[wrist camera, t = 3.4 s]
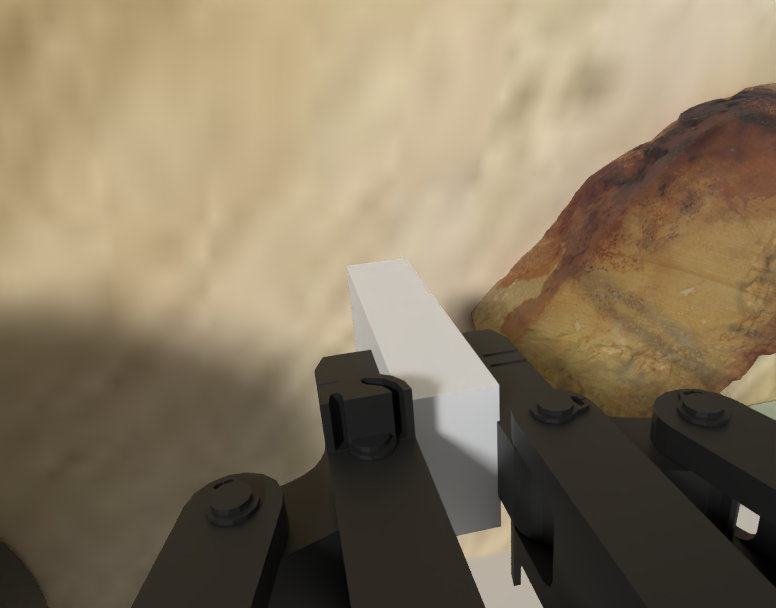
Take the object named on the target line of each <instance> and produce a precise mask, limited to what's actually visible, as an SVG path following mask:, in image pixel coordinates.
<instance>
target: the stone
mask: <svg viewBox="0 0 776 608" xmlns="http://www.w3.org/2000/svg"><path fill="white" fill-rule="evenodd" d="M471 315H472V321H473V324H474V327H475V330H476V331H478V330H484V329H490V330H493V331H495V332H497V333H499V334H501V335H503V336H505V337H507V338H508V339H509V340H510V341H511V342H512V343H513V344H514V345H515V346H516V348H517V349H518V352H521V353H522V354H523V355H524V356H525V358H526V359H527V362H528V361H529V362H530V363H531V364H532V365H533V366H534V368H535V369H536V370H537V371H538V372H539V373H540V374H541V375H542V376H543V377H544V379H545V380H546V381H547V382H548V383H549V384H550V385H551V386H552V387H553V388H554V389H561V390H569V391H572V392H575V393H577V394H580V395H583V396H585V397H586V398H588V399H589V400H591V401H592V402H593V403H595V404H596V405H597V406H598V407H599V408H600V409H601V410H602V411H603V412H604V413H605V414H606V415H607V416H610V417H637V418H652V412H653V406H654V403H655V400H656V398H657V397H659V396H660V395H662V394H664V393H665V392H669V391H674V390H678V389H702V390H704V391H709V392H714V393H718V394H719V393H720V392H721V391H722V390H723V389H724V388H726V387H727V386H729V384H730V383H731V382H732V381H735V380H740V379H741V378H742V376H743V375H745V374H746V373H747V371H748V370H749V369H750V368H751V366H752V365H753V364H754V362H755V361H756V359H757V358H758V356H760V355H772V354H774V353H776V83H774V84H766V85H759V86H754V87H749V88H745V89H744V90H742V91H741V92H739V93H737V94H735V95H734V96H732V97H729V98H725V99H717V100H712V101H709V102H705V103H702V104H699V105H697V106H694V107H692V108H689V109H688V110H686V111H685V112H683V113H681V114H680V116H679V118H678V120H677V121H675V122H673V123H671V124H670V125H669V126H667V127H666V128H665V129H664V130H663V131H662V132H660V133H659V134H658V135H657V136H656V137H655V138H654V139H653V140H652V141H650V142H647V143H644V144H641V145H639V146H638V147H636V148H634V149H632V150H630V151H628V152H627V153H625V154H624V155H622V156H620V157H619V158H617V159H616V160H614V161H612V162H611V163H609V164H608V165H606V166H605V167H603V168H602V169H601V170H599V171H598V172H596V173H595V174H593V175H592V176H590V177H589V178H588V179H587V180H586V181H585V183H584V184H583V185H582V186H581V188H580V189H579V190H578V191H577V192H576V193H575V195H574V197H573V198H572V200H571V201H570V203H569V205H568V206H567V207H566V208H565V209H564V210H563V211H562V212H561V214H560V215H559V217H558V219H557V221H556V222H555V223H554V224H553V225H552V226H551V228H550V229H548V230H547V231H546V233H545V235H544V236H543V238H542V239H541V240H540V241H539V242H538V243H537V244H536V245H535V246H534V247H533V248H532V249H531V250H530V251H529V252H527V253H526V254H525V255H524V256H523V257H522V258H521V259H520V260H519V261H518V262H517V263H516V264H515V266H514V267H513V268H512V269H511V270H510V272H509V273H508V275H507V276H506V277H504V278H503V279H501V280H500V281H498V282H497V283H496V284H495V285H494V286H493V287H492V288H491V290H490V291H489V292H488V293H487V294H486V296H485V297H484V298H483V299H482V300H481V302H480V303H479V304H478V305H477V307H476V308H475V309H474V310H473V312H472V313H471Z"/></svg>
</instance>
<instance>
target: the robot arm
mask: <svg viewBox="0 0 776 608" xmlns="http://www.w3.org/2000/svg"><path fill="white" fill-rule="evenodd" d="M347 274H348V283H349V292H350V300H351V309H352V317H353V326H354V334H355V343H356V351H357V352H353V353H346V354H340V355H334V356H328V357H323V358H322V359H321V361H320V363H319V364H318V366H317V368H316V369H315V378H316V384H317V391H318V398H319V404H320V411H321V418H322V424H323V431H324V438H325V452H324V454H323V456H322V459H321V460H320V461H319V462H318V464H317V465H316V466H315V467H314V468H313V469H311V470H310V471H309V472H308V473H306V474H305V475H303V476H301V477H300V478H298V479H296V480H294V481H292V482H290V483H287V484H285V485H283V486H279V484H278V483H277V481H276V480H274V479H272V478H270V477H268V476H266V475H264V474H256V473H241V474H235V475H228V476H226V477H223V478H221V479H218V480H216V481H213V482H211V483H209V484H208V485H206V486H205V487H203V488H202V489H201V490H199V491H198V492H196V493H195V494H194V495H193V496H192V498H191V499H190V500H189V501H188V503H187V504H186V505H185V506H184V508H183V510H182V512H181V514H180V516H179V518H178V519H177V521H176V523H175V525H174V527H173V529H172V531H171V533H170V535H169V537H168V538H167V540H166V542H165V544H164V546H163V548H162V550H161V552H160V554H159V556H158V558H157V559H156V561H155V563H154V565H153V567H152V569H151V571H150V573H149V575H148V577H147V578H146V580H145V582H144V584H143V586H142V588H141V590H140V592H139V594H138V596H137V598H136V599H135V601H134V603H133V605H132V607H131V608H485V606H484V603H483V601H482V598H481V596H480V593H479V591H478V588H477V586H476V583H475V581H474V579H473V576H472V574H471V571H470V569H469V566H468V564H467V561H466V559H465V557H464V554H463V552H462V549H461V547H460V544H459V542H458V539H457V537H456V536H458V535H462V534H467V533H472V532H476V531H481V530H486V529H491V528H495V527H500V526H501V501H502V503H503V505H504V507H505V509H506V510H507V512H508V514H509V516H510V518H511V574H512V579H513V583H514V586H516V585H520V584H521V566H522V567H523V569H524V570H525V572H526V575H527V577H528V578H529V580H530V582H531V584H532V586H533V588H534V590H535V592H536V594H537V596H538V598H539V600H540V602H541V604H542V606H543V608H776V420H774V419H772V418H770V417H768V416H766V415H764V414H762V413H760V412H758V411H756V410H754V409H752V408H750V407H748V406H746V405H744V404H742V403H740V402H738V401H736V400H734V399H731V398H729V397H726V396H723V395H721V394H718V393H714V392H709V391H704V390H702V389H678V390H674V391H669V392H665V393H664V394H662V395H660V396H659V397H657V398H656V400H655V403H654V406H653V412H652V418H637V417H610V416H607V415H606V414H605V413H604V412H603V411H602V410H601V409H600V408H599V407H598V406H597V405H596V404H595V403H593V402H592V401H591V400H589V399H588V398H586V397H585V396H583V395H580V394H577V393H575V392H572V391H569V390H561V389H554V388H553V387H552V386H551V385H550V384H549V383H548V382H547V381H546V380H545V379H544V377H543V376H542V375H541V374H540V373H539V372H538V371H537V370H536V369H535V368H534V366H533V365H532V364H531V363H530V362H529V361H528V362H527V359H526V358H525V356H524V355H523V354H522V353H521V352H518V349H517V348H516V346H515V345H514V344H513V343H512V342H511V341H510V340H509V339H508V338H507V337H505V336H503V335H501V334H499V333H497V332H495V331H493V330H490V329H484V330H478V331H472V332H465V333H460V331H459V330H458V328H457V327H456V326H455V324H454V323H453V322H452V320H451V319H450V318H449V316H448V315H447V314H446V312H445V311H444V310H443V308H442V307H441V305H440V304H439V303H438V301H437V300H436V299H435V297H434V296H433V295H432V293H431V292H430V291H429V289H428V288H427V287H426V285H425V284H424V283H423V281H422V280H421V278H420V277H419V276H418V274H417V273H416V272H415V270H414V269H413V268H412V266H411V265H410V264H409V262H408V261H407V260H406V258H400V259H393V260H385V261H378V262H371V263H364V264H357V265H350V266H347ZM740 503H741V504H742V505H744V506H745V507H747V508H748V509H750V510H751V511H753V512H755V513H756V514H758V515H759V516H760V520H759V524H758V530H757V533H756V535H755V534H749V533H747V532H746V531H744V530H742V529H740V528H739V527H737V526H736V522H737V517H738V511H739V506H740ZM0 608H47V607H46V604H45V601H44V599H43V596H42V594H41V592H40V590H39V588H38V586H37V584H36V582H35V581H34V579H33V578H32V576H31V574H30V573H29V572H28V570H27V569H26V568H25V566H24V565H23V564H22V563H21V562H20V560H19V559H18V558H17V557H16V556H15V555H14V554H13V553H12V552H11V551H10V550H9V549H8V548H7V547H6V546H5V545H4V544H3V543H1V542H0Z"/></svg>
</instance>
